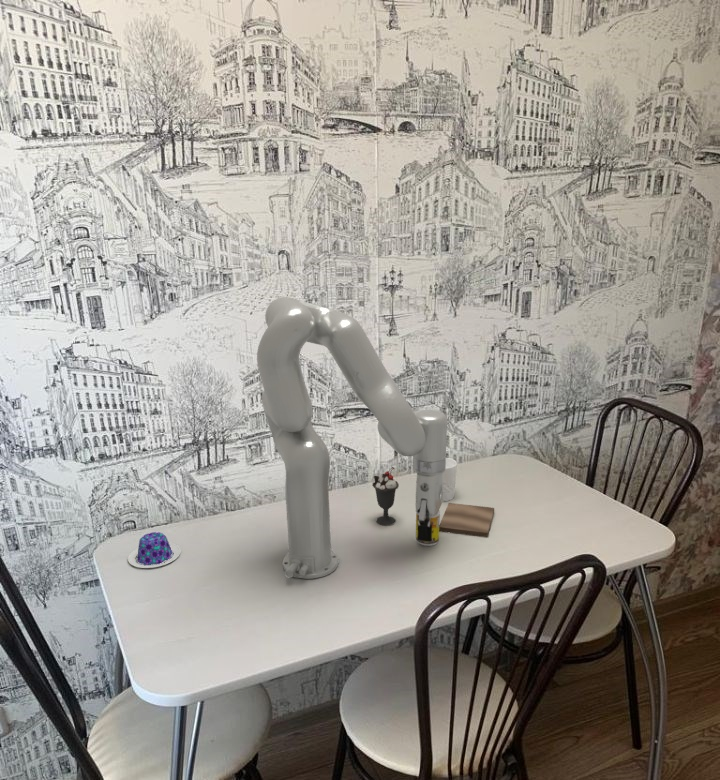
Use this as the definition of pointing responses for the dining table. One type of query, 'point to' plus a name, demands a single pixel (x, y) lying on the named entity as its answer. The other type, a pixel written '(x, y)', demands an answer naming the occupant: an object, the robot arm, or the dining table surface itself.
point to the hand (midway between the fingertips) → (427, 533)
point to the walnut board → (467, 519)
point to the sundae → (385, 495)
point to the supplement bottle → (435, 529)
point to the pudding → (154, 550)
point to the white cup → (449, 479)
